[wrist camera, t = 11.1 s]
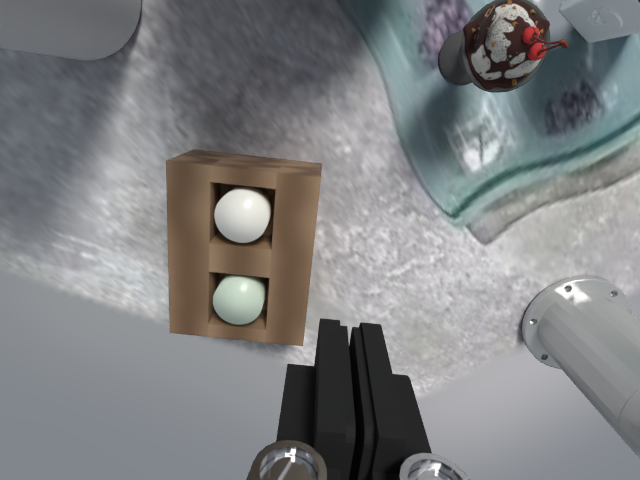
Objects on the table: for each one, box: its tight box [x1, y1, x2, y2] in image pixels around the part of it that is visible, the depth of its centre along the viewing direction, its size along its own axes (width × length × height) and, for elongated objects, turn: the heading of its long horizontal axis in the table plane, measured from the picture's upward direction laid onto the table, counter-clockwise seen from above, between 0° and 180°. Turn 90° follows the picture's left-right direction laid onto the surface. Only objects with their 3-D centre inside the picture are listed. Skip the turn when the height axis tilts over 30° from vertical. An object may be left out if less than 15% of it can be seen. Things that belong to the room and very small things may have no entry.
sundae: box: [439, 0, 569, 92], centre depth 33 cm, size 7×7×15 cm
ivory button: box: [214, 185, 273, 243], centre depth 40 cm, size 5×5×4 cm
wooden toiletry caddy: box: [166, 150, 322, 346], centre depth 43 cm, size 14×18×8 cm
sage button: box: [213, 273, 268, 325], centre depth 43 cm, size 5×5×4 cm
